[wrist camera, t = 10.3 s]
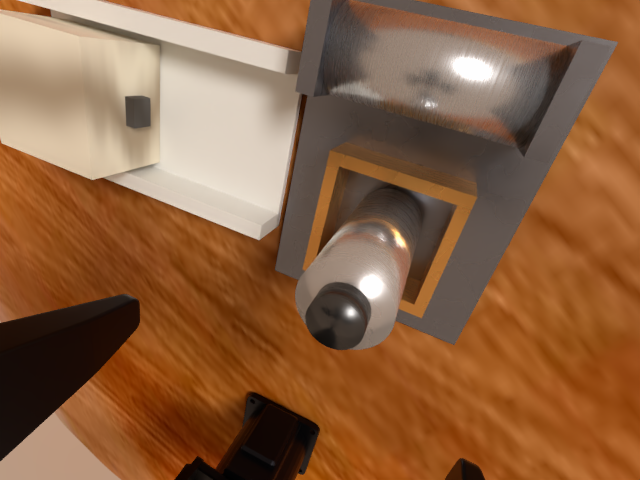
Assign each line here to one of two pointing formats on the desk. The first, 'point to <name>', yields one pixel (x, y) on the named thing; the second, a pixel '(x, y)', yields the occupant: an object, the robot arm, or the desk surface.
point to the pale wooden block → (78, 95)
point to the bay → (210, 116)
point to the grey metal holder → (431, 136)
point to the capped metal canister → (361, 273)
